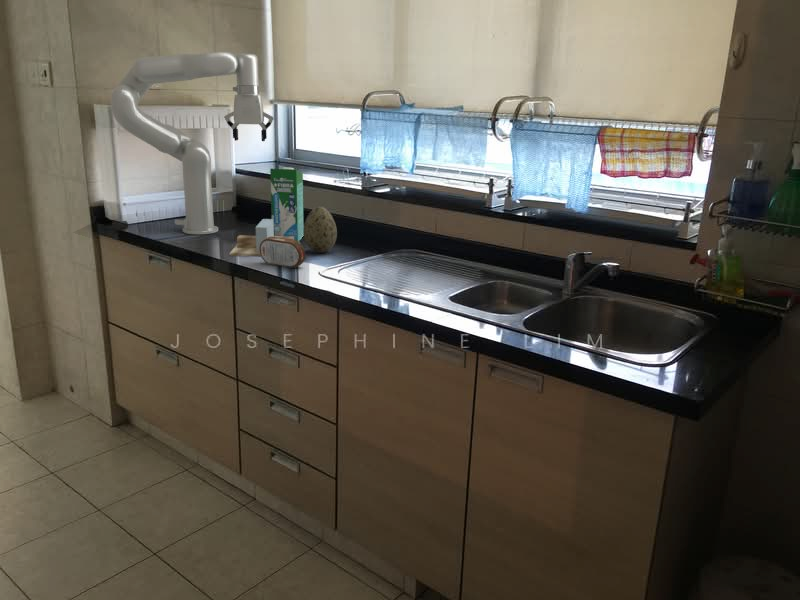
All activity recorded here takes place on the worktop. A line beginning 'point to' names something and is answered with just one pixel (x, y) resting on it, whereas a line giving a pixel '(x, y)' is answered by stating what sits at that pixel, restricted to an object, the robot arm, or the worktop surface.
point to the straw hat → (249, 245)
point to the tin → (282, 252)
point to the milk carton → (287, 202)
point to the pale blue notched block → (264, 231)
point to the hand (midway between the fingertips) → (249, 140)
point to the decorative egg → (320, 230)
